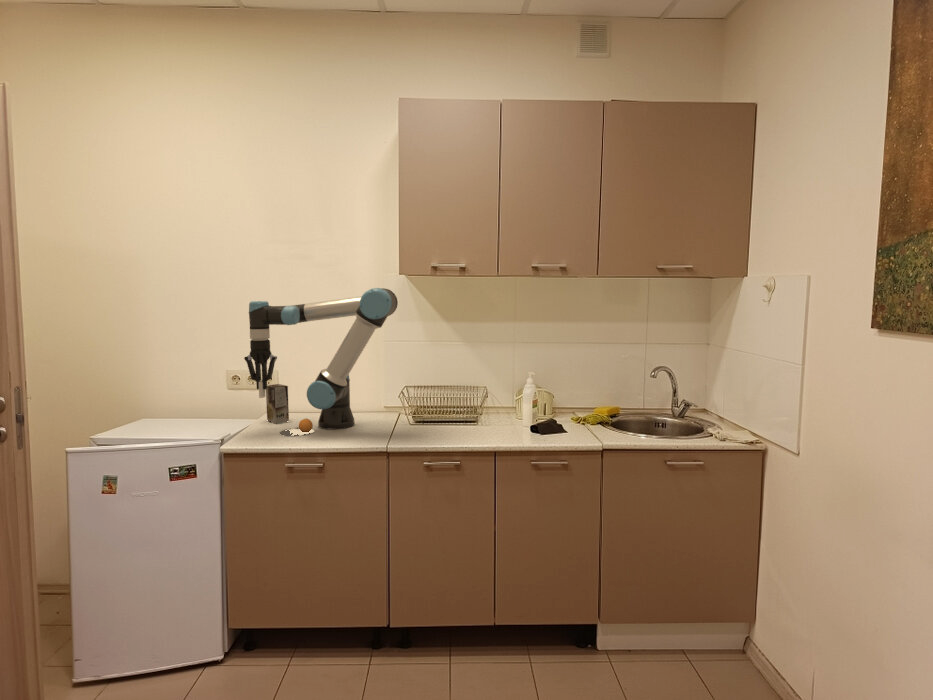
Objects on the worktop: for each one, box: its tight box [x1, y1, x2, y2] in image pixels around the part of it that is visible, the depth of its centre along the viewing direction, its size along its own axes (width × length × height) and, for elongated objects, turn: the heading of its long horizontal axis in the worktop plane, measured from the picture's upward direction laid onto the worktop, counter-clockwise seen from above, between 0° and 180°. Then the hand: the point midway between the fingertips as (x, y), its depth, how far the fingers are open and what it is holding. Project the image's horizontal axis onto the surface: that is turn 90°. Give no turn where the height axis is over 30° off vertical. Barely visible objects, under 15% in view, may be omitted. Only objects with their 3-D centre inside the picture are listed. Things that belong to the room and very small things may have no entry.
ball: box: [298, 418, 314, 432], centre depth 238 cm, size 6×6×6 cm
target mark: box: [279, 428, 311, 437], centre depth 238 cm, size 14×14×1 cm
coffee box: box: [265, 383, 290, 424], centre depth 257 cm, size 9×6×16 cm
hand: (262, 397), depth 237 cm, fingers closed
